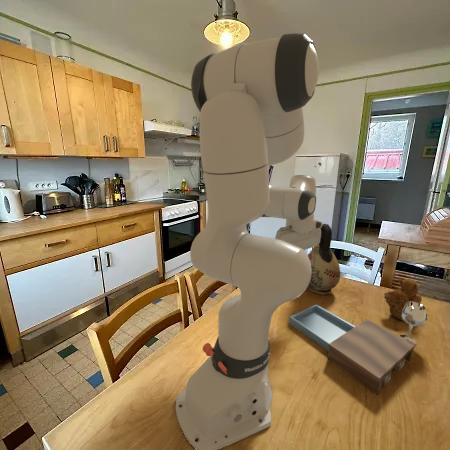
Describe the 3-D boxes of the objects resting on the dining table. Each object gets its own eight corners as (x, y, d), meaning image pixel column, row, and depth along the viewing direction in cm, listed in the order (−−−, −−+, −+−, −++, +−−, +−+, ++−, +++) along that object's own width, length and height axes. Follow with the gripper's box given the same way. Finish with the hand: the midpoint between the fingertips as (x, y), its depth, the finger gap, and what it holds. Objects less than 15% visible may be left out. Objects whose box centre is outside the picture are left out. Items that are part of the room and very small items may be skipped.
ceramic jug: (296, 280, 112) (301, 217, 105) (329, 281, 112) (337, 218, 104) (306, 300, 96) (314, 227, 88) (346, 301, 95) (356, 228, 88)
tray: (338, 358, 67) (339, 350, 67) (289, 323, 82) (289, 316, 81) (364, 338, 75) (365, 332, 74) (315, 310, 89) (315, 304, 89)
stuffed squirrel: (428, 317, 86) (437, 283, 83) (404, 328, 80) (412, 292, 77) (399, 303, 95) (405, 272, 91) (375, 311, 89) (381, 279, 86)
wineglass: (423, 348, 71) (432, 312, 68) (401, 345, 72) (409, 310, 69) (413, 334, 77) (421, 301, 74) (393, 332, 78) (400, 299, 75)
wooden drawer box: (376, 395, 56) (379, 378, 55) (326, 359, 67) (328, 343, 66) (412, 359, 67) (415, 344, 66) (364, 332, 78) (367, 319, 76)
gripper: (284, 230, 73) (281, 272, 77) (325, 222, 84) (321, 259, 88) (270, 226, 79) (268, 265, 82) (310, 218, 89) (307, 253, 93)
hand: (296, 261), depth 85 cm, fingers closed
